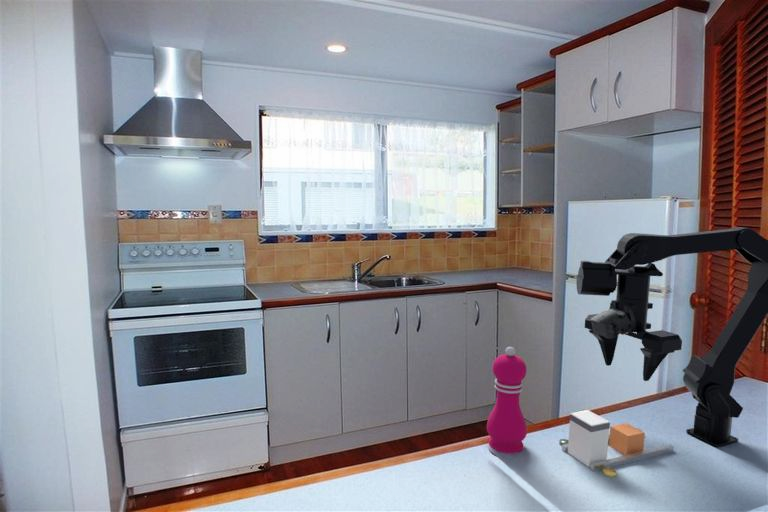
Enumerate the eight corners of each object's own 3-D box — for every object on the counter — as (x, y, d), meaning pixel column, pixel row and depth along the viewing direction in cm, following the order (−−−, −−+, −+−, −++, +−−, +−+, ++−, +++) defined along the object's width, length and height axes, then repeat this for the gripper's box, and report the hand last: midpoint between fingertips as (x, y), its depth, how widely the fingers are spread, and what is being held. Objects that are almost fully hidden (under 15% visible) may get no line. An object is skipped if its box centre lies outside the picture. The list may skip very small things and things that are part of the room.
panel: (626, 430, 100) (627, 420, 100) (691, 466, 87) (692, 454, 87) (547, 448, 93) (547, 437, 92) (605, 489, 80) (606, 477, 80)
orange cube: (625, 443, 93) (626, 423, 93) (643, 453, 89) (644, 432, 89) (608, 446, 92) (610, 426, 91) (626, 457, 88) (628, 436, 88)
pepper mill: (527, 463, 87) (533, 354, 85) (485, 458, 89) (490, 351, 86) (524, 443, 94) (529, 342, 92) (485, 439, 96) (489, 339, 93)
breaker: (585, 448, 90) (587, 409, 89) (606, 462, 86) (610, 421, 85) (567, 452, 89) (569, 413, 88) (588, 467, 84) (591, 425, 83)
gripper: (566, 290, 103) (562, 362, 105) (643, 310, 86) (636, 395, 88) (606, 287, 107) (601, 356, 109) (687, 305, 90) (679, 387, 92)
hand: (626, 372), depth 100 cm, fingers open, 9 cm apart
